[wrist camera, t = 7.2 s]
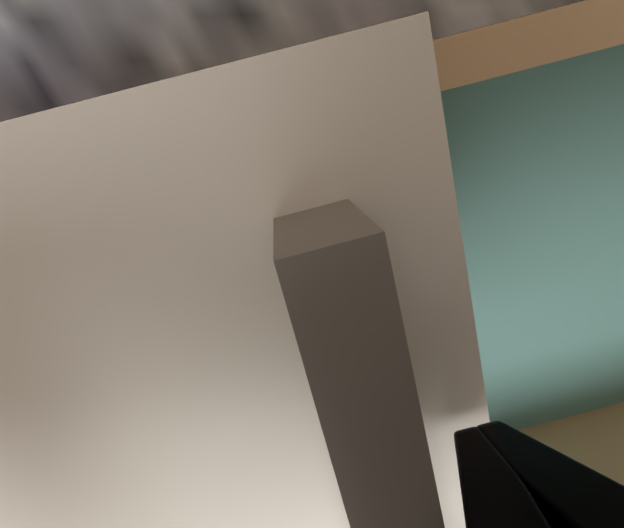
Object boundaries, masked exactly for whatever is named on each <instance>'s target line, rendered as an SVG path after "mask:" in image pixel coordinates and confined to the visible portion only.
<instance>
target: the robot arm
mask: <svg viewBox="0 0 624 528" xmlns="http://www.w3.org/2000/svg"><path fill="white" fill-rule="evenodd" d="M454 443H455V450H456V458H457V465H458V473H459V480H460V488H461V495H462V503H463V510H464V518H465V525H466V528H624V485H622V484H620V483H618V482H616V481H614V480H613V479H611V478H609V477H607V476H605V475H603V474H601V473H599V472H597V471H595V470H593V469H592V468H590V467H588V466H586V465H584V464H582V463H580V462H578V461H576V460H574V459H572V458H571V457H569V456H567V455H565V454H563V453H561V452H559V451H557V450H555V449H553V448H551V447H550V446H548V445H546V444H544V443H542V442H540V441H538V440H536V439H534V438H532V437H530V436H529V435H527V434H525V433H523V432H521V431H519V430H517V429H515V428H513V427H511V426H509V425H508V424H506V423H504V422H502V421H492V422H488V423H484V424H481V425H478V426H477V427H469V428H466V429H462V430H458V431H455V432H454Z"/></svg>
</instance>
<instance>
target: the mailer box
mask: <svg viewBox="0 0 624 528" xmlns="http://www.w3.org/2000/svg"><path fill="white" fill-rule="evenodd" d="M433 45H434V52H435V58H436V65H437V72H438V78H439V85H440V92H441V98H442V105H443V112H444V118H445V125H446V132H447V139H448V145H449V152H450V159H451V165H452V172H453V179H454V185H455V192H456V199H457V206H458V212H459V219H460V226H461V232H462V239H463V246H464V252H465V259H466V266H467V272H468V279H469V286H470V293H471V299H472V306H473V313H474V319H475V326H476V333H477V339H478V346H479V353H480V359H481V366H482V373H483V380H484V386H485V393H486V400H487V406H488V413H489V420H490V422H492V421H502V422H504V423H506V424H508V425H509V426H511V427H513V428H515V429H517V430H519V431H521V432H523V433H525V434H527V435H529V436H530V437H532V438H534V439H536V440H538V441H540V442H542V443H544V444H546V445H548V446H550V447H551V448H553V449H555V450H557V451H559V452H561V453H563V454H565V455H567V456H569V457H571V458H572V459H574V460H576V461H578V462H580V463H582V464H584V465H586V466H588V467H590V468H592V469H593V470H595V471H597V472H599V473H601V474H603V475H605V476H607V477H609V478H611V479H613V480H614V481H616V482H618V483H620V484H622V485H624V0H584V1H580V2H577V3H573V4H569V5H565V6H561V7H557V8H554V9H550V10H546V11H542V12H538V13H534V14H530V15H527V16H523V17H519V18H515V19H511V20H507V21H504V22H500V23H496V24H492V25H488V26H484V27H480V28H477V29H473V30H469V31H465V32H461V33H457V34H453V35H450V36H446V37H442V38H438V39H434V40H433Z"/></svg>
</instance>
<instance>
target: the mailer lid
mask: <svg viewBox="0 0 624 528" xmlns="http://www.w3.org/2000/svg"><path fill="white" fill-rule="evenodd" d="M488 422H490V420H489V413H488V406H487V400H486V393H485V386H484V380H483V373H482V366H481V359H480V353H479V346H478V339H477V333H476V326H475V319H474V313H473V306H472V299H471V293H470V286H469V279H468V272H467V266H466V259H465V252H464V246H463V239H462V232H461V226H460V219H459V212H458V206H457V199H456V192H455V185H454V179H453V172H452V165H451V159H450V152H449V145H448V139H447V132H446V125H445V118H444V112H443V105H442V98H441V92H440V85H439V78H438V72H437V65H436V58H435V52H434V45H433V38H432V31H431V25H430V18H429V11H426V12H422V13H418V14H415V15H411V16H407V17H403V18H399V19H395V20H391V21H388V22H384V23H380V24H376V25H372V26H368V27H364V28H361V29H357V30H353V31H349V32H345V33H341V34H337V35H334V36H330V37H326V38H322V39H318V40H314V41H310V42H307V43H303V44H299V45H295V46H291V47H287V48H283V49H280V50H276V51H272V52H268V53H264V54H260V55H256V56H253V57H249V58H245V59H241V60H237V61H233V62H229V63H226V64H222V65H218V66H214V67H210V68H206V69H202V70H199V71H195V72H191V73H187V74H183V75H179V76H175V77H172V78H168V79H164V80H160V81H156V82H152V83H148V84H145V85H141V86H137V87H133V88H129V89H125V90H121V91H118V92H114V93H110V94H106V95H102V96H98V97H94V98H91V99H87V100H83V101H79V102H75V103H71V104H67V105H64V106H60V107H56V108H52V109H48V110H44V111H40V112H37V113H33V114H29V115H25V116H21V117H17V118H13V119H10V120H6V121H2V122H0V528H466V525H465V518H464V510H463V503H462V495H461V488H460V480H459V473H458V465H457V458H456V450H455V443H454V432H455V431H458V430H462V429H466V428H469V427H477V426H478V425H481V424H484V423H488Z"/></svg>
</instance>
